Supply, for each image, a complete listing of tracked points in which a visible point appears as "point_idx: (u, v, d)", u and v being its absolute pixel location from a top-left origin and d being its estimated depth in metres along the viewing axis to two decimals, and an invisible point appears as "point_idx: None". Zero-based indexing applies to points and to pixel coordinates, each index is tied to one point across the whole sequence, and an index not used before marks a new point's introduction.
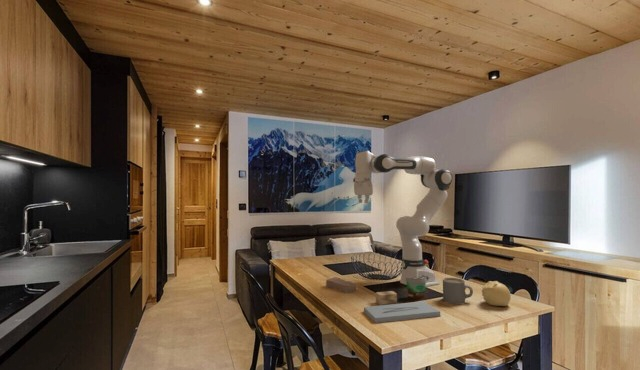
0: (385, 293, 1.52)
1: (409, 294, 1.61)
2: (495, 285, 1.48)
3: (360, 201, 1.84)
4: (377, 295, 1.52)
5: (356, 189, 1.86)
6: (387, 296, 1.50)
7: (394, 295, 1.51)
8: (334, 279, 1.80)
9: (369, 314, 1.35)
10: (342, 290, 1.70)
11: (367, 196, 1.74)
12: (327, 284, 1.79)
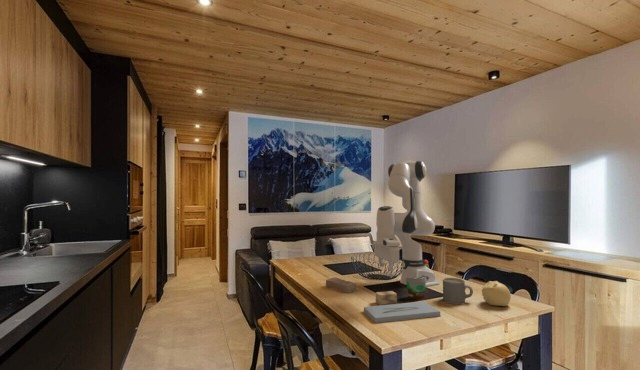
0: (385, 293, 1.52)
1: (409, 294, 1.61)
2: (495, 285, 1.48)
3: None
4: (377, 295, 1.52)
5: None
6: (386, 296, 1.50)
7: (394, 295, 1.51)
8: (334, 279, 1.80)
9: (369, 314, 1.35)
10: (342, 290, 1.70)
11: None
12: (327, 284, 1.78)
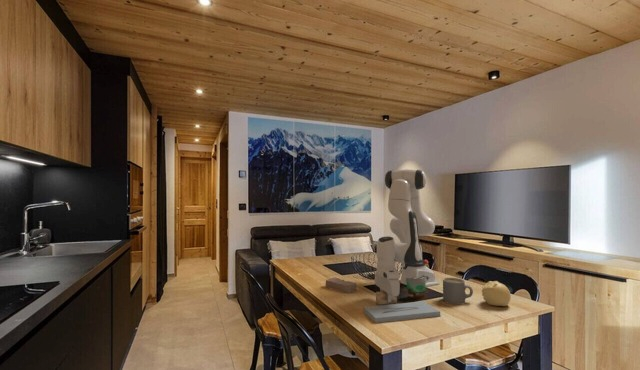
0: (385, 293, 1.52)
1: (409, 294, 1.61)
2: (495, 285, 1.48)
3: None
4: (377, 295, 1.52)
5: None
6: (386, 295, 1.50)
7: None
8: (334, 279, 1.79)
9: (369, 314, 1.35)
10: (343, 290, 1.70)
11: None
12: (327, 284, 1.78)
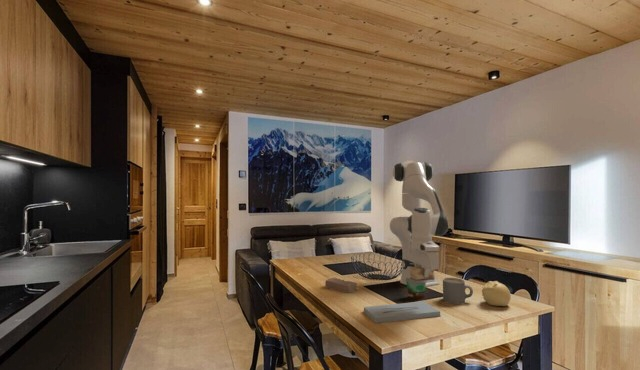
0: (421, 268, 1.41)
1: (409, 294, 1.61)
2: (495, 285, 1.48)
3: None
4: (412, 270, 1.41)
5: None
6: (423, 270, 1.40)
7: None
8: (333, 279, 1.79)
9: (369, 314, 1.35)
10: (343, 290, 1.70)
11: None
12: (327, 285, 1.77)
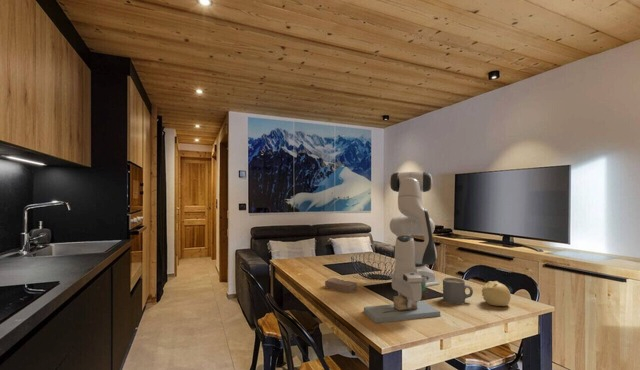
0: (404, 297, 1.39)
1: None
2: (495, 285, 1.48)
3: None
4: (395, 299, 1.38)
5: None
6: (406, 300, 1.37)
7: None
8: (333, 280, 1.79)
9: (369, 314, 1.35)
10: (344, 290, 1.70)
11: None
12: (326, 285, 1.77)
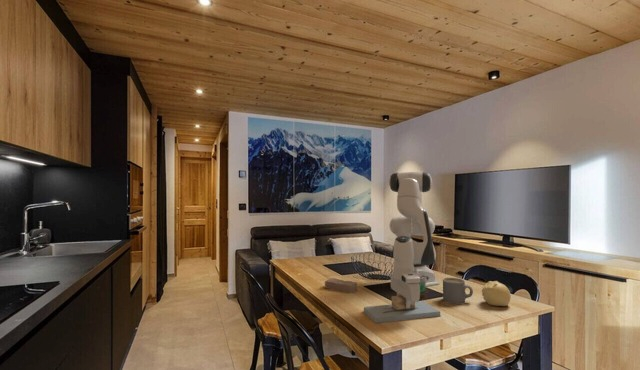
0: (402, 297, 1.39)
1: None
2: (495, 285, 1.48)
3: None
4: (393, 299, 1.39)
5: None
6: (404, 300, 1.37)
7: None
8: (333, 280, 1.78)
9: (369, 314, 1.35)
10: (345, 290, 1.70)
11: None
12: (326, 285, 1.76)
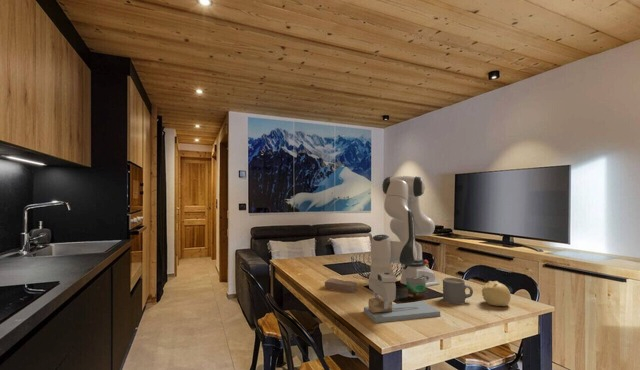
0: (379, 300, 1.36)
1: (409, 294, 1.61)
2: (495, 285, 1.48)
3: None
4: (370, 302, 1.36)
5: None
6: (380, 302, 1.35)
7: (389, 302, 1.35)
8: (332, 280, 1.78)
9: (369, 314, 1.35)
10: (346, 290, 1.70)
11: None
12: (326, 286, 1.75)
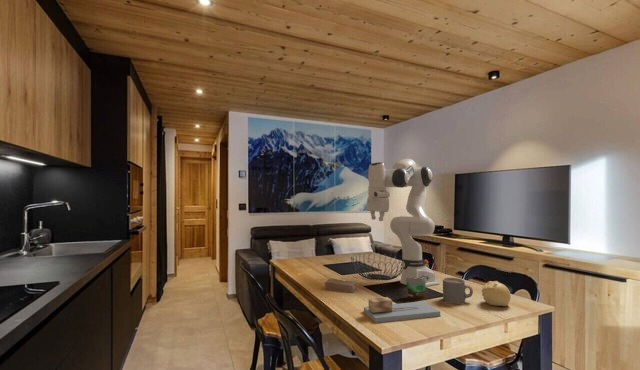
0: (379, 300, 1.36)
1: (409, 294, 1.61)
2: (495, 285, 1.48)
3: None
4: (370, 302, 1.36)
5: None
6: (380, 302, 1.35)
7: (389, 302, 1.35)
8: (332, 280, 1.77)
9: (369, 314, 1.35)
10: (346, 290, 1.70)
11: None
12: (326, 286, 1.74)
